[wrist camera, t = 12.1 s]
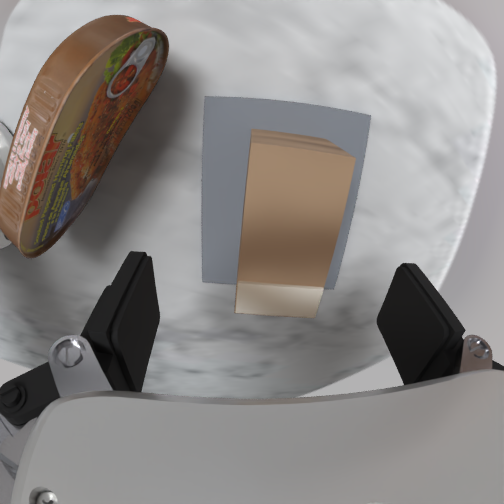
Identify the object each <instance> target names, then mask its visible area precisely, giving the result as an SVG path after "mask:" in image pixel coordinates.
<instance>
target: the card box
mask: <svg viewBox="0 0 504 504" xmlns="http://www.w3.org/2000/svg"><path fill="white" fill-rule="evenodd" d="M355 161H356V158H355V157H353V156H352V155H350V154H349V153H347V152H346V151H344V150H343V149H341V148H340V147H338V146H337V145H335V144H334V143H332V142H330V141H329V140H327V139H324V138H318V137H312V136H306V135H299V134H292V133H285V132H277V131H269V130H260V129H251V138H250V147H249V157H248V166H247V176H246V186H245V196H244V206H243V216H242V226H241V237H240V247H239V258H238V271H237V284H236V298H235V312H234V313H241V314H254V315H268V316H284V317H302V318H315V316H316V313H317V310H318V307H319V303H320V300H321V297H322V294H323V290H324V285H325V282H326V278H327V275H328V272H329V268H330V264H331V261H332V257H333V254H334V250H335V246H336V242H337V239H338V235H339V231H340V227H341V223H342V219H343V215H344V210H345V206H346V202H347V198H348V193H349V189H350V184H351V180H352V175H353V170H354V166H355Z"/></svg>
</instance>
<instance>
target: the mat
mask: <svg viewBox="0 0 504 504" xmlns="http://www.w3.org/2000/svg"><path fill="white" fill-rule="evenodd" d="M370 119H371V115H366V114H362V113H357V112H352V111H347V110H342V109H336V108H330V107H324V106H318V105H311V104H304V103H296V102H288V101H279V100H269V99H256V98H241V97H213V96H205V103H204V124H203V152H202V282H208V283H222V284H237V271H238V258H239V247H240V237H241V226H242V216H243V206H244V196H245V186H246V176H247V166H248V157H249V147H250V138H251V129H260V130H269V131H277V132H285V133H292V134H299V135H306V136H312V137H318V138H324V139H327V140H329V141H330V142H332V143H334V144H335V145H337V146H338V147H340V148H341V149H343V150H344V151H346V152H347V153H349V154H350V155H352V156H353V157H355V158H356V161H355V166H354V170H353V175H352V180H351V184H350V189H349V193H348V198H347V202H346V206H345V210H344V215H343V219H342V223H341V227H340V231H339V235H338V239H337V242H336V246H335V250H334V254H333V257H332V261H331V264H330V268H329V272H328V275H327V278H326V282H325V285H324V289H334V287H335V284H336V280H337V277H338V273H339V269H340V266H341V262H342V258H343V254H344V250H345V246H346V242H347V238H348V234H349V230H350V225H351V221H352V217H353V212H354V208H355V203H356V198H357V194H358V189H359V184H360V179H361V173H362V168H363V162H364V157H365V151H366V145H367V139H368V132H369V126H370Z"/></svg>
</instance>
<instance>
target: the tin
mask: <svg viewBox="0 0 504 504" xmlns="http://www.w3.org/2000/svg"><path fill="white" fill-rule="evenodd" d="M168 51H169V42H168V38H167V36H166V34H165V33H164V32H163V31H161V30H159V29H156V28H152V27H150V26H148V25H146V24H144V23H142V22H140V21H138V20H136V19H134V18H132V17H129V16H124V15H109V16H104V17H101V18H98V19H95V20H93V21H91V22H89V23H87V24H86V25H84V26H82V27H81V28H79V29H78V30H76V31H75V32H73V33H72V34H71V35H70V36H69V37H67V38H66V39H65V40H64V41H63V42H62V43H61V44H60V45H59V46H58V47H57V48H56V49H55V51H54V52H53V53H52V54H51V55H50V57H49V58H48V60H47V61H46V62H45V64H44V65H43V67H42V68H41V70H40V72H39V74H38V76H37V78H36V80H35V81H34V84H33V86H32V88H31V91H30V93H29V95H28V98H27V100H26V103H25V105H24V107H23V111H22V113H21V116H20V119H19V121H18V124H17V127H16V130H15V133H14V136H13V139H12V143H11V146H10V150H9V153H8V157H7V161H6V165H5V169H4V173H3V177H2V181H1V187H0V229H1V231H2V232H3V234H4V235H5V236H6V237H7V238H8V239H9V240H10V241H11V242H12V243H13V244H14V245H15V246H16V247H17V248H18V249H19V250H20V252H21V254H22V255H23V256H24V257H26V258H35V257H37V256H40V255H41V254H43V253H44V252H46V251H47V250H48V249H49V248H51V247H52V246H53V245H54V244H55V243H56V242H57V241H58V240H59V239H60V238H61V236H62V235H63V234H64V233H65V232H66V231H67V229H68V228H69V227H70V226H71V225H72V223H73V222H74V221H75V219H76V218H77V217H78V216H79V214H80V213H81V211H82V210H83V209H84V207H85V205H86V204H87V202H88V201H89V199H90V197H91V196H92V194H93V192H94V190H95V189H96V187H97V185H98V183H99V181H100V179H101V177H102V175H103V173H104V171H105V169H106V167H107V165H108V163H109V161H110V159H111V158H112V156H113V154H114V152H115V150H116V149H117V147H118V145H119V143H120V141H121V140H122V138H123V136H124V135H125V133H126V131H127V130H128V128H129V126H130V125H131V123H132V122H133V120H134V118H135V117H136V115H137V113H138V112H139V110H140V109H141V107H142V106H143V104H144V103H145V101H146V100H147V98H148V97H149V95H150V94H151V92H152V90H153V89H154V87H155V85H156V83H157V81H158V79H159V77H160V75H161V73H162V71H163V69H164V66H165V64H166V61H167V57H168Z"/></svg>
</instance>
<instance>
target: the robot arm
mask: <svg viewBox="0 0 504 504" xmlns="http://www.w3.org/2000/svg"><path fill="white" fill-rule="evenodd" d="M12 139H13V136H12V135H11V134H10V132H9V131H8V129H7V128H6V127H5V126H4V125H3V124H2V123H1V122H0V187H1V181H2V177H3V173H4V169H5V165H6V161H7V157H8V153H9V150H10V146H11V143H12ZM11 243H12V242H11V241H10V240H9V239H8V238H7V237H6V236H5V235H4V234H3V232H2V231H1V229H0V248H4V247H7V246H8V245H10V244H11ZM159 321H160V311H159V305H158V299H157V292H156V286H155V278H154V271H153V263H152V258H151V256H147V254H146V252H134V251H131V252H130V253H129V254H128V256H127V258H126V259H125V261H124V263H123V264H122V266H121V268H120V270H119V271H118V273H117V275H116V277H115V279H114V280H113V282H112V284H111V286H110V285H109V286H107V287H106V288H105V289H104V291H103V293H102V295H101V297H100V299H99V300H98V302H97V304H96V306H95V308H94V310H93V312H92V314H91V316H90V317H89V319H88V321H87V323H86V325H85V327H84V329H83V331H82V333H81V335H80V336H78V335H68V336H65V337H62V338H60V339H58V340H57V341H56V342H55V343H54V344H53V345H52V346H51V348H50V349H49V353H48V361H49V362H47V363H45V364H43V365H41V366H39V367H37V368H35V369H32V370H30V371H28V372H26V373H25V374H22V375H20V376H18V377H16V378H14V379H12V380H10V381H8V382H6V383H5V384H3V385H2V386H1V388H0V504H504V366H502V365H500V364H499V363H497V362H495V361H493V360H492V350H491V348H490V346H489V345H488V343H487V342H486V341H485V340H484V339H482V338H481V337H479V336H476V335H468V336H467V337H465V339H464V340H463V338H462V335H463V334H464V332H465V329H464V327H463V326H462V324H461V323H460V321H459V320H458V319H457V317H456V316H455V314H454V313H453V311H452V310H451V309H450V307H449V306H448V304H447V303H446V302H445V300H444V299H443V298H442V296H441V295H440V294H439V292H438V291H437V290H436V289H435V287H434V286H433V285H432V283H431V282H430V281H429V280H428V278H427V277H426V276H425V274H424V273H423V272H422V271H421V270H420V268H419V267H418V266H417V265H416V264H414V263H402V264H401V265H400V267H398V268H397V269H396V272H395V274H394V277H393V280H392V282H391V285H390V288H389V290H388V293H387V295H386V298H385V300H384V302H383V305H382V307H381V310H380V312H379V314H378V317H377V325H378V328H379V330H380V332H381V334H382V336H383V338H384V340H385V343H386V345H387V347H388V349H389V351H390V353H391V356H392V358H393V360H394V362H395V365H396V367H397V369H398V371H399V374H400V376H401V378H402V381H403V383H404V385H403V386H398V387H392V388H386V389H379V390H372V391H365V392H357V393H349V394H339V395H329V396H317V397H300V398H275V399H231V398H207V397H189V396H175V395H164V394H154V393H142V392H141V391H142V386H143V382H144V378H145V374H146V370H147V366H148V362H149V358H150V354H151V350H152V347H153V343H154V339H155V336H156V332H157V328H158V325H159Z"/></svg>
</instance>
